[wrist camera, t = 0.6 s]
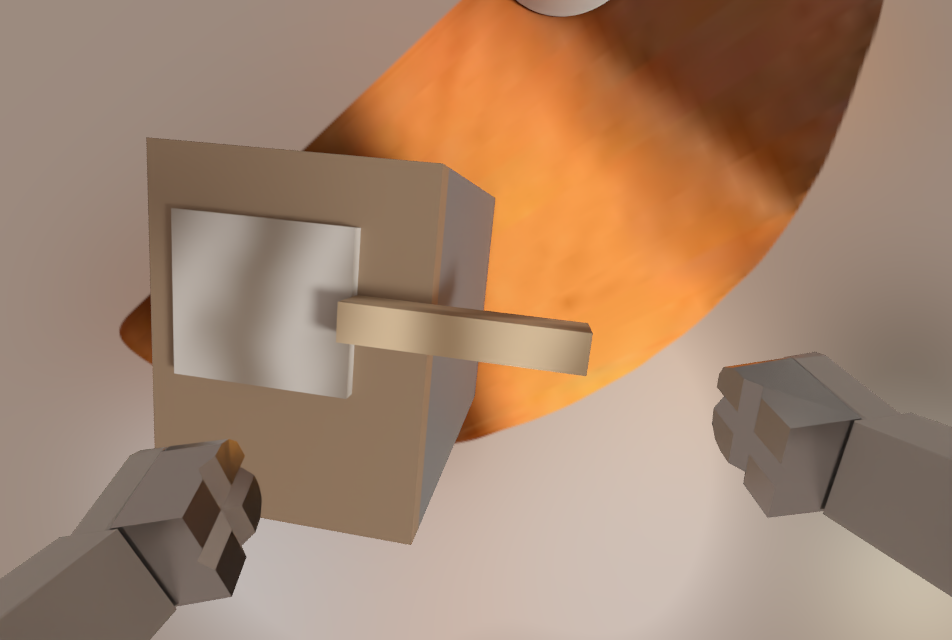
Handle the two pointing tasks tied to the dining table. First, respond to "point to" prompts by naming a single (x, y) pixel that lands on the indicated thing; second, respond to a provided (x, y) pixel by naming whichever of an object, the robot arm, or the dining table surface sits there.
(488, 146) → the dining table surface
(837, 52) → the dining table surface
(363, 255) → the grey box
